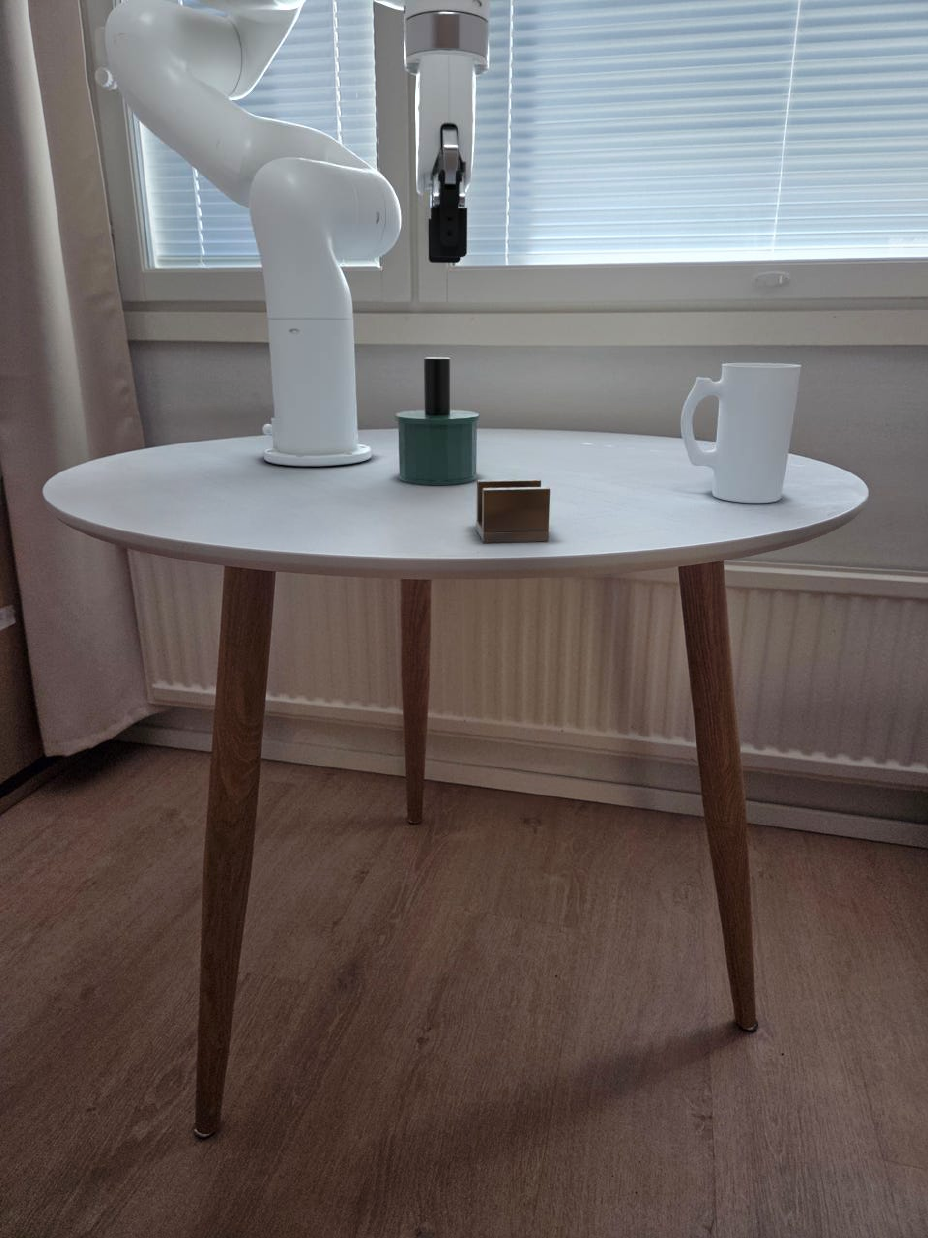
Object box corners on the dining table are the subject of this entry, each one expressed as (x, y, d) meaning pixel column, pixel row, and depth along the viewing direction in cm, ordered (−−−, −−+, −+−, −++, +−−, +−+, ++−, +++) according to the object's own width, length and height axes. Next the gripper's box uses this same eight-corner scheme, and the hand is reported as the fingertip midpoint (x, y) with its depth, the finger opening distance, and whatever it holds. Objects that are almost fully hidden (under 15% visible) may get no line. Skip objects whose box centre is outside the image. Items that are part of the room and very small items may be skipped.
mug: (774, 490, 82) (790, 362, 78) (792, 505, 76) (811, 367, 72) (669, 488, 83) (680, 362, 79) (679, 502, 77) (691, 366, 73)
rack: (483, 543, 63) (484, 490, 62) (476, 529, 67) (476, 479, 66) (548, 541, 64) (550, 488, 62) (537, 527, 68) (539, 478, 67)
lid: (395, 431, 82) (393, 359, 80) (396, 421, 90) (394, 355, 88) (482, 430, 83) (483, 359, 81) (476, 420, 91) (476, 355, 89)
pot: (399, 485, 85) (397, 424, 83) (400, 471, 92) (398, 415, 90) (478, 484, 85) (479, 424, 83) (473, 471, 93) (473, 415, 90)
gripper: (404, 74, 83) (407, 264, 88) (403, 17, 66) (407, 253, 72) (481, 76, 83) (478, 264, 89) (498, 19, 67) (494, 254, 73)
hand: (446, 259), depth 80 cm, fingers open, 9 cm apart
